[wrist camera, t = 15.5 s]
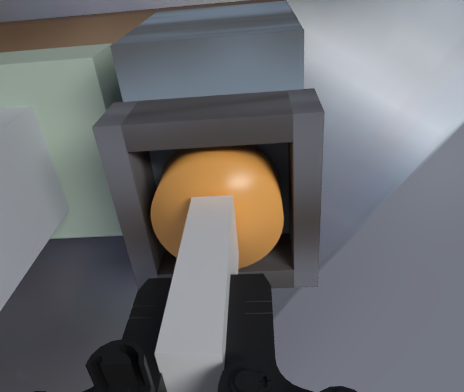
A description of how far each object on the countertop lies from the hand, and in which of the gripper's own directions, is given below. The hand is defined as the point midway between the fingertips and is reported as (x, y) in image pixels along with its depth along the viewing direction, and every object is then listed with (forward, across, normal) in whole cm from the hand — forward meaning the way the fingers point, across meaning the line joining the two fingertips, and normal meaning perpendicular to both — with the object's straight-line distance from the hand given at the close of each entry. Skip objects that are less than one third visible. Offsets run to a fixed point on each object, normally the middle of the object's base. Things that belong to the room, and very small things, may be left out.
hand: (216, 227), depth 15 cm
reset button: (+2, 0, 0) cm, 2 cm away
